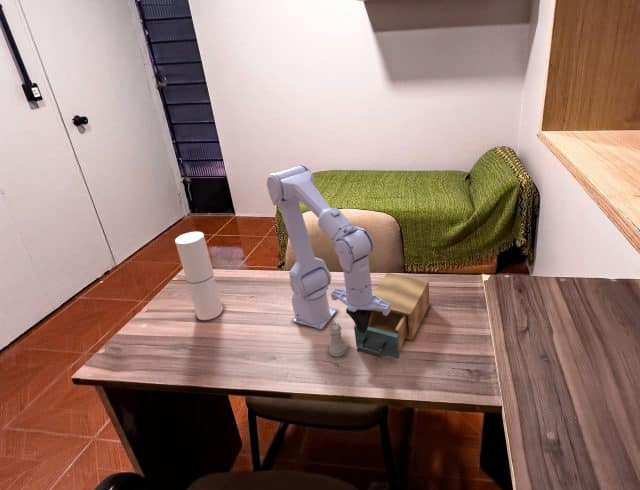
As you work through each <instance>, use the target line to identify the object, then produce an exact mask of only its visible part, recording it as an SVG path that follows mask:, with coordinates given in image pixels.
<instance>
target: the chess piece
mask: <svg viewBox="0 0 640 490" xmlns="http://www.w3.org/2000/svg"><path fill="white" fill-rule="evenodd" d="M327 332H328V333H329V336H330V342H329V343H330V344H329V347H328V351H329V353H330V355H331V356H332V357H341V356H343V355H344V354H345V353H346V352H347V350H348V347H347V344H346V342H345V341H344V340H343V338H342V326H341V325H340V324H339V323H338V322H334V323H330V325H329V327H328V331H327Z"/></svg>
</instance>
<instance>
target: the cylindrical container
mask: <svg viewBox="0 0 640 490" xmlns="http://www.w3.org/2000/svg"><path fill="white" fill-rule="evenodd" d="M174 242H175V245H176V250H177V253H178V257H179V260H180V263H181V266H182V270H183V274H184V276H185V277H184V278H185V280H186V283H187V288H188V291H189V294H190V297H191V300H192V304H193V307H194V311H195V314H196V317H197V319H198V320H201V321H209V320H212V319H215V318H217V317H219V316H220V315H221V314H222V312H223V309H224V308H223V304H222V301H221V300H222V299H221V297H220V293H219V289H218V284H217V281H216V276H215V273H214V269H213V266H212V262H211V258H210V254H209V250H208V245H207V241H206V238H205V234H204V232H202V231H190V232H186V233H183V234H180V235H179V236H177V237H176V238H175V240H174Z"/></svg>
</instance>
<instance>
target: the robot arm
mask: <svg viewBox="0 0 640 490" xmlns="http://www.w3.org/2000/svg"><path fill="white" fill-rule="evenodd" d="M315 185H316V183H315V177H314V174H313V173H312V171H311V169H310V168H309V167H308V166H307V165H306V164H300V165H298V166H294V167H292V168H289V169H285V170H282V171H279V172H275V173H270V174H269V175H268V176H267V179H266V187H267V191H268V194H269V197H270V201H271V202H272V204H273V206H278V207H279V210H280V213H281V216H282V220H283V223H284V227H285V229H286V234H287V236H288V239H289V242H290V245H291V249H292V252H293V256H294V259H295V263H294V264H293V266H292V268H291V269H290V270H289V272H288V277H289V280H290V281H289V283H290V288H291V290H292V293H293V294H292V297H291V304H292V305H291V306H292V309H293V314H294V319H293V322H294V323H297V324H301V325H303V326H304V325H305V326H308V327H312V328H315V329H318V330H323V329H324V328H325V326H326V325H327V324H328V322H330V320H331V318H332V317H333V316H334V315H335V314H336V312H337V310H336V309H334V308H330V305H329V299H328V293H327V291H328V290H329V285H331V283H332V275H331V272H330V270H329V268H328V267H327V263H326V262H325V261H324V260H323V259H322V258H319V257H315V253H314V250H313V249H314V248H313V246H312V242H311V240H310V235H309V231H308V229H307V226H306V223H305V218H304V216H303V212H302V208H301V205H300V202H301V203H302V204H303V205H304V206H305V207H306V208H307V209H308V210H309V211H310V212H312V213H313V214H314V215H315V216H316V217H317V218H318V220H317V225H318V227H319V229H321V231H322V232H323V233H324V234H325V235H326V236H327V238H328V239H329V241H331V243H332V244H333V245H334V246H333V247H334V251H335V254H336V256H337V258H338V261H339V265H340V267H341V268H342V271H343V278H344V287H345V289H344V288H343V289H341V288H334V289H333V290H332V291H331V292H330V296H331V300H332V301H337V300H339V301H340V302H342V303H343V304H344V305H346V306H347V308H346V309H345V313H346V314H347V315H348V316H349V317H350V318H351V320H352V321H353V322H354V325H355V324H356V326H357V328H358V331H359V332H361V333H365V331H366V330H367V329H368V323H369V319H370V315H371V313H372V311H373V310H376V311H379V312H383V315H386V316H387V315H388V314H389V313H390V311H391V305H390V303H387V302H385V301H383V300H381V299H380V298H378V297H377V296H375V295H374V294H373V289H372V287H373V286H372V279H371V268H370V267H371V266H370V258H369V256H370V254H371V253H372V252H373V251H374V242H373V238H372V236H371V235H370V234H369V232H368V231H367V230H366V229H365V228H363V227H360V226H358V225H353V223H352V222H351V221H350V220H349V219H348V218H347V217H346V216H345V214H343V212H342V211H341V210H340V209H339V208H338V207H331V206H330V205H329V203H328V202H327V200H326V199H325V197H324V196H323V195H322V193H321V192H320V191H319V190H318V189H317V187H316V186H315Z"/></svg>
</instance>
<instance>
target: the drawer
mask: <svg viewBox="0 0 640 490" xmlns="http://www.w3.org/2000/svg"><path fill="white" fill-rule="evenodd" d="M353 330H354V337H355V338H354V339H355V345H356V346H355V347H356V351H357V352H358V353H361V354H365V355H369V356H372V357H376V358H379V359H381V358H382V356H385V357H389V358H393V359H396V360H399V359H400V357H401V348H402V346H403V345H404V342H405V341H406V339H405V338H406V337H407V335H408V333H409V325H408V316H407V315H403V314H399V313H394V312H390V313H389V314H388V315H387V316H386V315H383V312H379V311H376V310H373V311H372V313H371V315H370V319H369V323H368V329H367V330H366V331H365V333H361V332H359V331H358V328H357V326H356V324H355V323H354V325H353Z"/></svg>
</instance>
